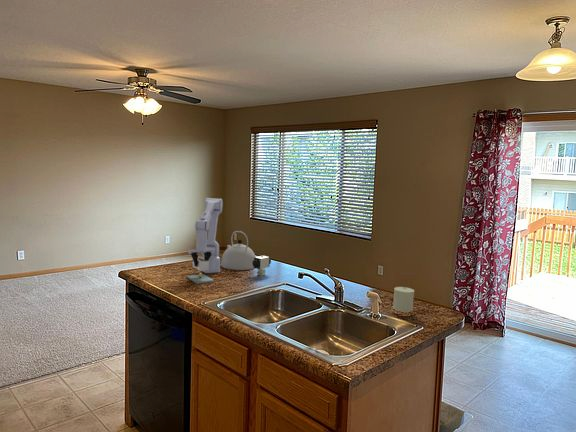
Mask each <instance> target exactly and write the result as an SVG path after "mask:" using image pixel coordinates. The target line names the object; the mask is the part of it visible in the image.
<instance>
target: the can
mask: <svg viewBox="0 0 576 432" xmlns="http://www.w3.org/2000/svg"><path fill="white" fill-rule="evenodd" d="M393 289H394V291H393V292H394V293H393V304H392V310H393V309H395V310H397V311H401V312H410V311H412V312H413V308H414V297H415V289H413V288H411V287H407V286H406V287H405V286H395V287H394V288H393Z"/></svg>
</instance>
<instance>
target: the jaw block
mask: <svg viewBox="0 0 576 432" xmlns="http://www.w3.org/2000/svg"><path fill="white" fill-rule="evenodd" d="M192 268H193V269H195V270H197V271H199V272H203V270H209V261H208V260H206V259H204V257H198V259H197V267H195V266H194V261H193V260H192Z"/></svg>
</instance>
